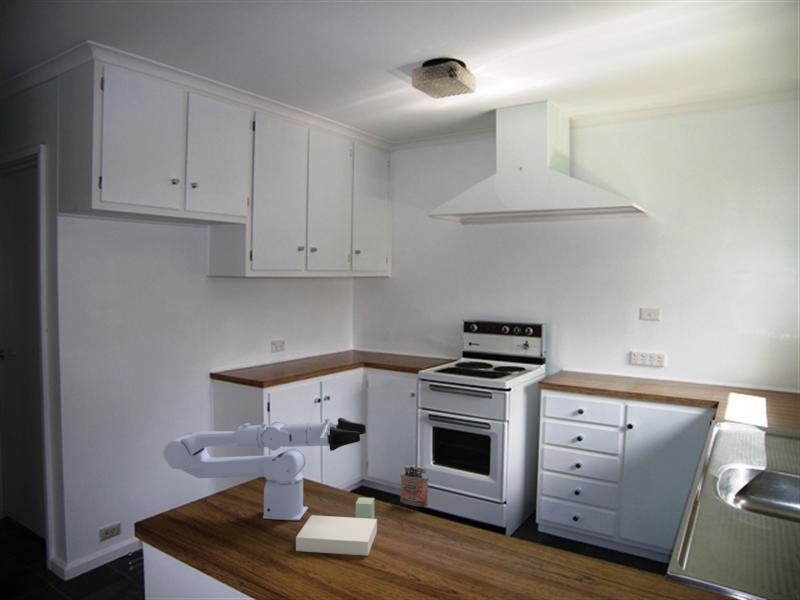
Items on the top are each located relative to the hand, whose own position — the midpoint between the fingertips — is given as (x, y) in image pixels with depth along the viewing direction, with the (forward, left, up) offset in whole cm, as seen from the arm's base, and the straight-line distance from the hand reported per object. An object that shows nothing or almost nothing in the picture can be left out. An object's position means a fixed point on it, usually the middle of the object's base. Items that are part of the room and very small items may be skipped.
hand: (362, 432), depth 139 cm
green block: (+1, -1, -22) cm, 22 cm away
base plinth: (-3, -13, -22) cm, 25 cm away
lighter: (+12, +12, -22) cm, 28 cm away
